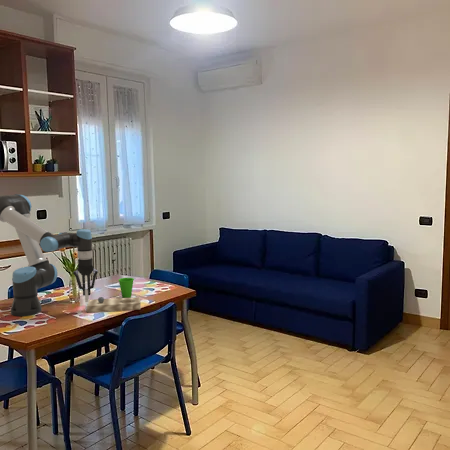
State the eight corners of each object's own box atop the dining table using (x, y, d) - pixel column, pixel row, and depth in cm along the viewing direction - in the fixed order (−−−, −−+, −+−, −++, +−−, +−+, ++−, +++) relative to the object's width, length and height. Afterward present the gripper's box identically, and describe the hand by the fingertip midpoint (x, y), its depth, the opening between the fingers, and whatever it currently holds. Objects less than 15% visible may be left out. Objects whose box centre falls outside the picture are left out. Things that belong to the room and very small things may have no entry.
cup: (115, 298, 273) (115, 280, 272) (125, 294, 281) (125, 277, 280) (127, 300, 269) (127, 282, 268) (137, 296, 277) (137, 278, 276)
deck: (87, 312, 247) (86, 306, 247) (89, 305, 259) (89, 299, 259) (140, 309, 252) (140, 303, 252) (140, 303, 264) (140, 297, 264)
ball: (97, 303, 251) (97, 298, 251) (98, 302, 254) (98, 296, 254) (103, 303, 252) (103, 297, 251) (104, 301, 255) (104, 296, 254)
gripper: (71, 260, 244) (73, 303, 247) (97, 259, 246) (98, 302, 249) (73, 257, 251) (75, 299, 254) (98, 256, 253) (100, 298, 256)
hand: (87, 301), depth 251 cm, fingers closed
